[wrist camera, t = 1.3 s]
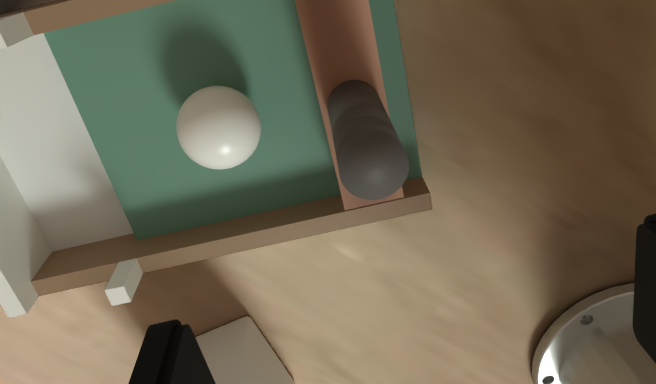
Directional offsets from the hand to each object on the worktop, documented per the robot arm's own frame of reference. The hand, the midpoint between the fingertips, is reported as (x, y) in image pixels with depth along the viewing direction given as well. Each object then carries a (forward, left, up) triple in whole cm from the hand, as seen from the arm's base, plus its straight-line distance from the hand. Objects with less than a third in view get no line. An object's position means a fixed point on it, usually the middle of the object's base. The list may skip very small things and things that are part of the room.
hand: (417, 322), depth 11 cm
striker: (0, 0, -18) cm, 18 cm away
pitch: (+8, 0, -20) cm, 22 cm away
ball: (+6, 0, -16) cm, 18 cm away
